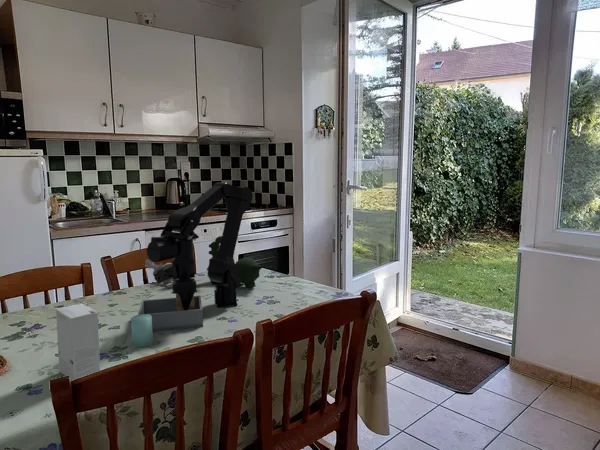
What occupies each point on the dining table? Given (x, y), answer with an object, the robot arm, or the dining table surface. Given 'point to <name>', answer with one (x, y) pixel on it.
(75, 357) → the skincare box
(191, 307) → the walnut block
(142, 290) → the dining table surface
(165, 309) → the tote
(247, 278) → the toy figurine
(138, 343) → the teal capsule
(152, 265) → the spaceship
